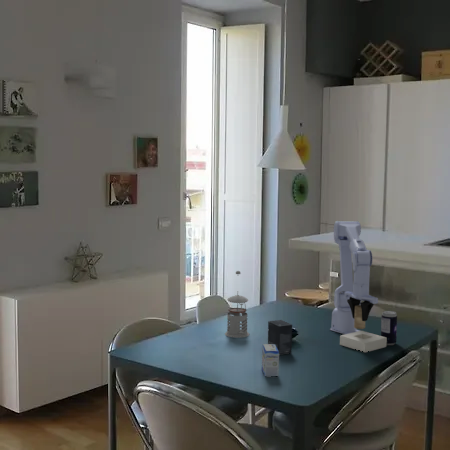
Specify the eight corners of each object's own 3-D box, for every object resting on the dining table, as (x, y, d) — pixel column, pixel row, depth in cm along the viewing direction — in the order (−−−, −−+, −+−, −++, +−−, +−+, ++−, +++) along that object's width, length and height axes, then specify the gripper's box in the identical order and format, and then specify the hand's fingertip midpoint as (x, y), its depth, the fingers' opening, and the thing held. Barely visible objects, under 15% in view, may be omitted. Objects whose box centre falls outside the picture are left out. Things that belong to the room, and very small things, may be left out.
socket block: (339, 344, 260) (340, 335, 260) (361, 339, 267) (361, 330, 267) (364, 352, 251) (365, 342, 250) (386, 346, 258) (386, 337, 258)
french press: (220, 335, 270) (221, 271, 267) (231, 328, 281) (232, 267, 278) (244, 338, 266) (245, 274, 263) (254, 331, 277) (256, 269, 274)
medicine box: (261, 369, 230) (262, 343, 229) (274, 369, 231) (275, 343, 230) (264, 377, 222) (265, 350, 221) (278, 377, 223) (279, 350, 222)
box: (291, 353, 248) (292, 324, 247) (278, 355, 246) (278, 325, 245) (280, 347, 255) (281, 319, 254) (267, 349, 253) (267, 320, 252)
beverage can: (396, 346, 259) (397, 314, 258) (380, 345, 260) (381, 313, 259) (396, 342, 264) (397, 310, 263) (380, 341, 266) (381, 310, 264)
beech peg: (351, 327, 259) (352, 305, 258) (359, 325, 261) (360, 304, 260) (359, 329, 256) (360, 308, 255) (367, 327, 258) (368, 306, 257)
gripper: (339, 281, 260) (337, 316, 261) (369, 287, 249) (367, 325, 250) (352, 279, 264) (350, 314, 266) (382, 285, 253) (380, 322, 254)
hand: (359, 319), depth 258 cm, fingers closed on beech peg, 4 cm apart
